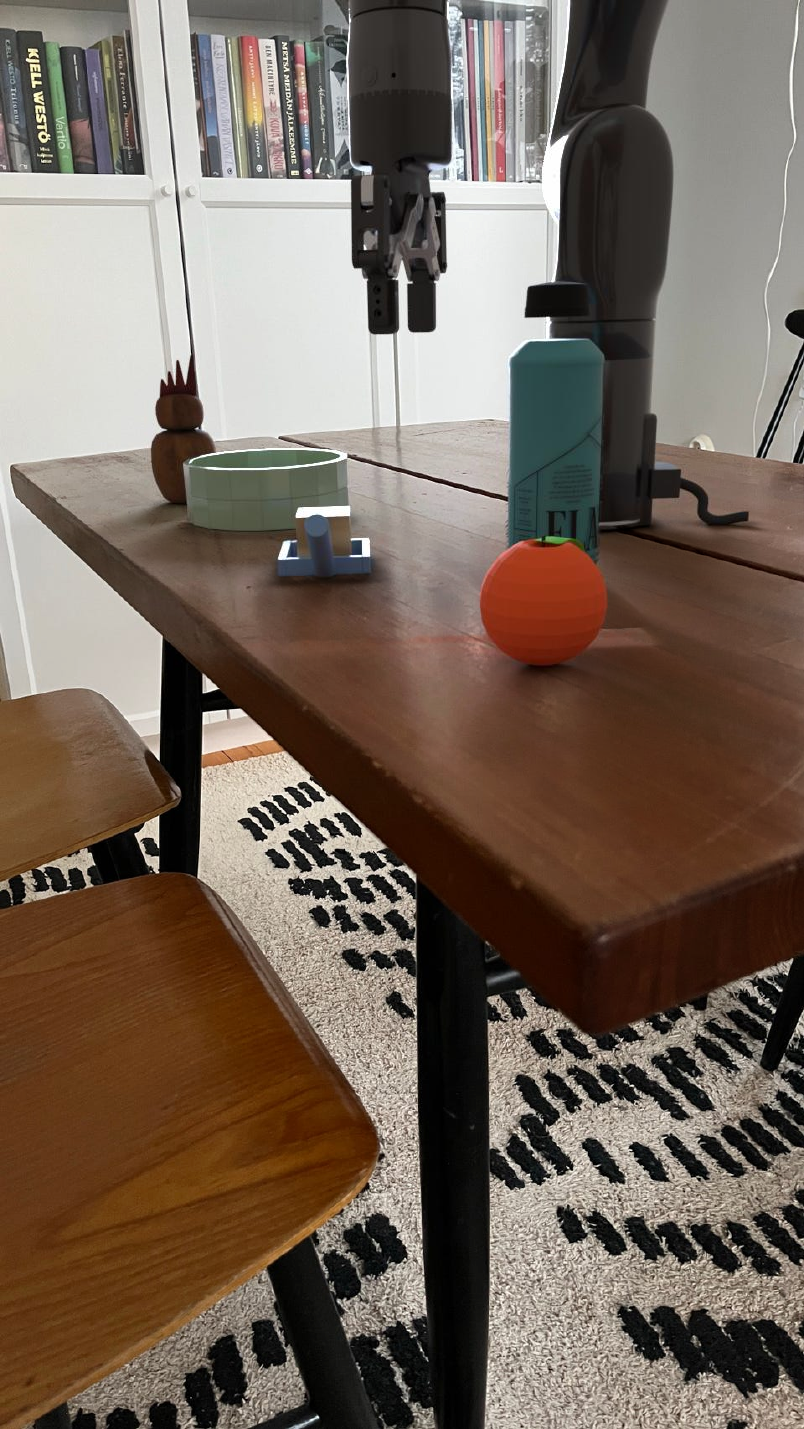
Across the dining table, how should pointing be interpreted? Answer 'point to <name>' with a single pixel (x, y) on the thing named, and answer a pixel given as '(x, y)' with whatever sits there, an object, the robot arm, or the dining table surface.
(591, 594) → the clementine
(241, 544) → the dining table surface
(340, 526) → the brown block
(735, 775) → the dining table surface
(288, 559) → the frame with upright peg
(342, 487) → the mint green round tray
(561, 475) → the beverage bottle
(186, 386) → the wooden figurine
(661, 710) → the dining table surface
